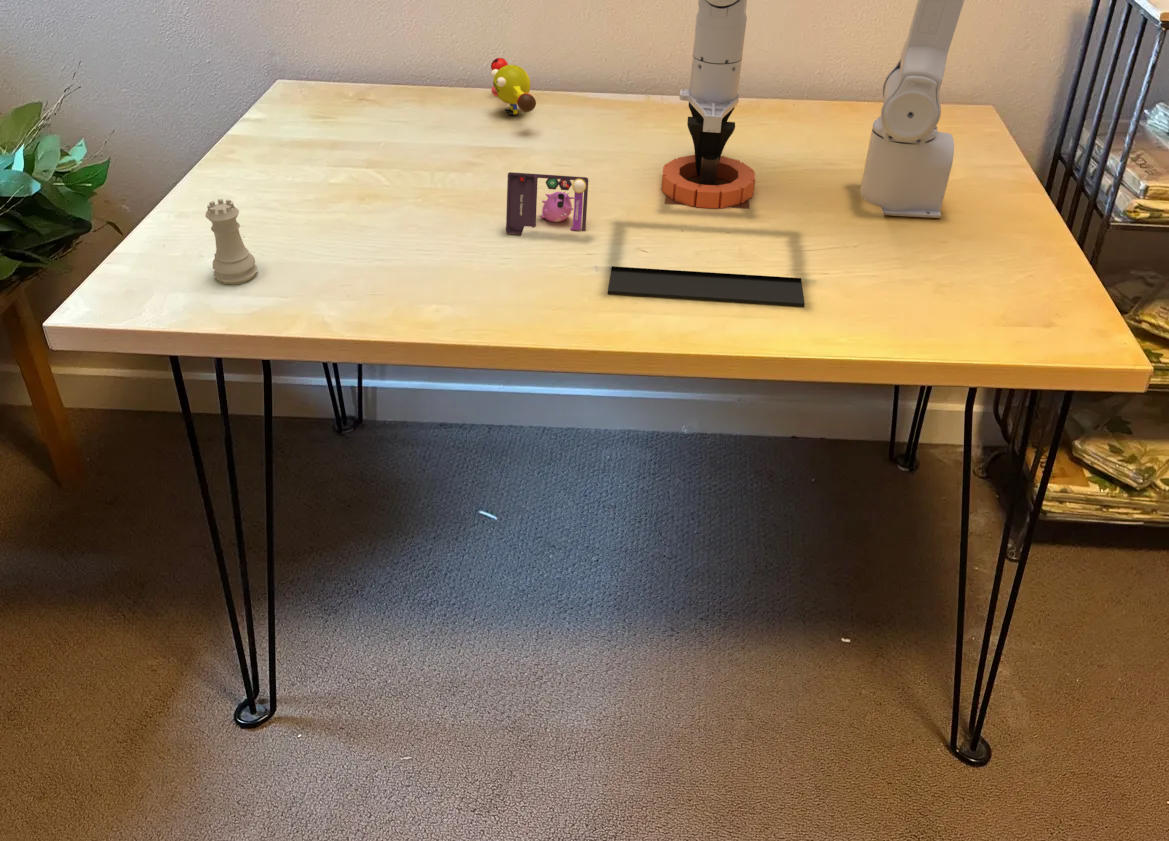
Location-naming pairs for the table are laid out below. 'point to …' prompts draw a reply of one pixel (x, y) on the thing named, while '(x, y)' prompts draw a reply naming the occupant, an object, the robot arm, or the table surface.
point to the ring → (708, 194)
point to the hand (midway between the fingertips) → (705, 167)
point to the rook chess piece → (229, 245)
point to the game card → (554, 208)
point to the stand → (708, 179)
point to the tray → (706, 286)
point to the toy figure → (512, 86)
